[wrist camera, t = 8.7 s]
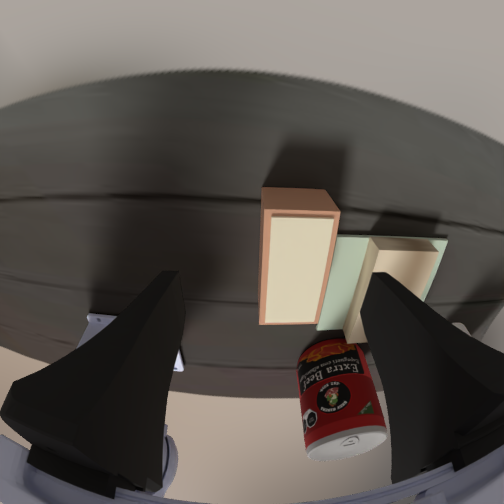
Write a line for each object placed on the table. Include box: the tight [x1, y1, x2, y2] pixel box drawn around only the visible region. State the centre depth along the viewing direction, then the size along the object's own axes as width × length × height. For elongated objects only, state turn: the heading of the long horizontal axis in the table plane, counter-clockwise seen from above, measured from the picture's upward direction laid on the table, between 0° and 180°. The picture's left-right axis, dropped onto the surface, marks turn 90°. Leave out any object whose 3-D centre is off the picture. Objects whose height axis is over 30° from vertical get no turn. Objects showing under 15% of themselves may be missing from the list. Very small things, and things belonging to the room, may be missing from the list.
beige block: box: [343, 236, 439, 344], centre depth 22 cm, size 6×10×2 cm, turn 178°
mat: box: [316, 234, 448, 330], centre depth 23 cm, size 11×10×1 cm
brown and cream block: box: [258, 187, 340, 325], centre depth 20 cm, size 4×9×4 cm, turn 179°
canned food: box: [296, 339, 388, 461], centre depth 24 cm, size 8×8×11 cm
